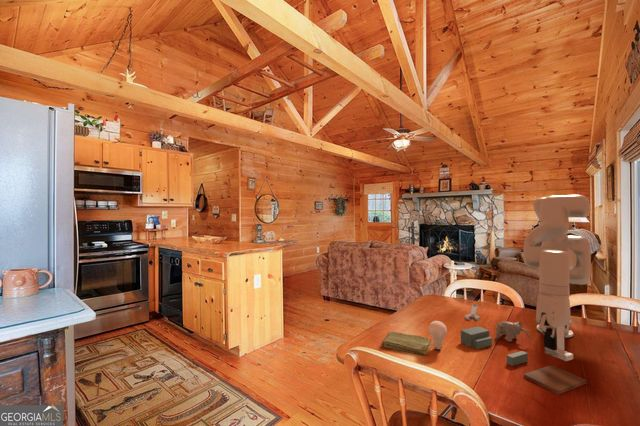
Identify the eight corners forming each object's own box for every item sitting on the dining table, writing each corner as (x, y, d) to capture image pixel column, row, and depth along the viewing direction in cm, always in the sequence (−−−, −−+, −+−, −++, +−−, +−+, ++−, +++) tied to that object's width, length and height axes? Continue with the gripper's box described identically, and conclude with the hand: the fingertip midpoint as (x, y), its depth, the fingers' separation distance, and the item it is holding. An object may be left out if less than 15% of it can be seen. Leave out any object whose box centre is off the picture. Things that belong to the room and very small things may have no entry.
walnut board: (551, 367, 103) (551, 365, 103) (586, 383, 93) (586, 380, 93) (523, 377, 97) (523, 374, 97) (558, 394, 88) (558, 391, 88)
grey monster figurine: (497, 333, 132) (496, 316, 132) (531, 338, 125) (529, 320, 125) (495, 341, 124) (493, 323, 125) (530, 347, 117) (528, 327, 117)
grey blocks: (478, 338, 127) (478, 326, 127) (529, 361, 107) (529, 347, 107) (460, 342, 123) (460, 330, 123) (510, 366, 104) (510, 352, 104)
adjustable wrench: (472, 306, 169) (472, 303, 169) (485, 308, 165) (485, 305, 165) (463, 320, 148) (464, 316, 148) (478, 323, 144) (478, 319, 144)
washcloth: (427, 358, 112) (427, 349, 112) (380, 349, 119) (380, 340, 119) (431, 343, 123) (431, 335, 123) (388, 336, 131) (388, 329, 131)
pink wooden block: (551, 350, 97) (551, 319, 97) (573, 358, 92) (572, 326, 92) (544, 352, 96) (544, 321, 96) (566, 361, 91) (565, 328, 90)
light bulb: (437, 354, 113) (437, 325, 113) (425, 347, 119) (424, 319, 119) (451, 351, 116) (450, 322, 115) (437, 344, 122) (437, 317, 122)
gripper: (557, 284, 102) (557, 338, 102) (524, 289, 95) (524, 347, 95) (583, 289, 95) (584, 347, 95) (550, 295, 88) (550, 357, 88)
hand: (554, 346), depth 95 cm, fingers closed on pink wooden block, 3 cm apart
